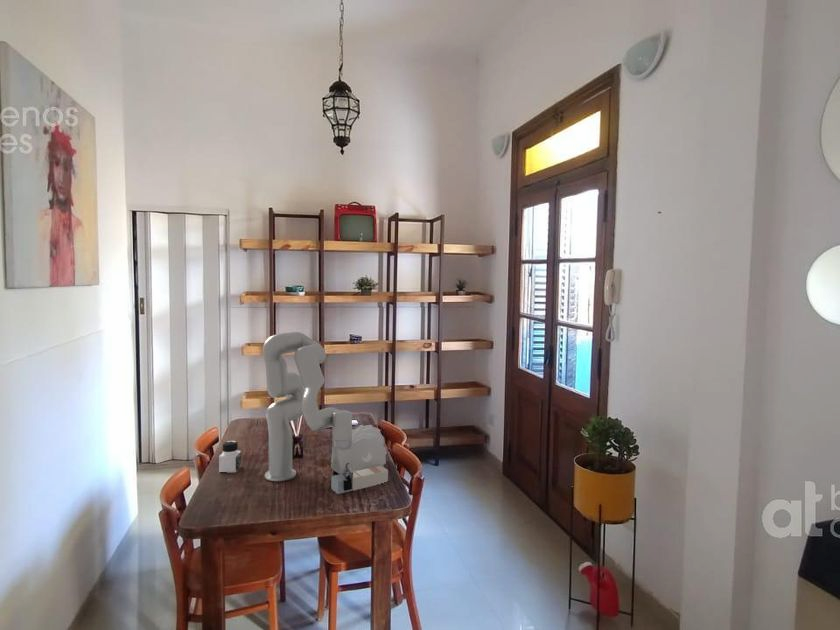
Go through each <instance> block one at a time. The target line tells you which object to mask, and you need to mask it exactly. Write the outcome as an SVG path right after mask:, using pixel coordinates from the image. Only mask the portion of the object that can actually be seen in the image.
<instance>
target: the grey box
mask: <svg viewBox="0 0 840 630" xmlns="http://www.w3.org/2000/svg"><path fill="white" fill-rule="evenodd" d="M347 476H348V475H347V474H346V477H347ZM330 477H331V485H330V486H331V488H330V489H331V490H332V491H333V492H335V493H336V494H337V495H340V494H344V493H349V492H352V489H351V490H347V491H344V480H345V479H344V476H343V474H342V475H340V474H339V475H335V476H333V475H331V476H330Z"/></svg>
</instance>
